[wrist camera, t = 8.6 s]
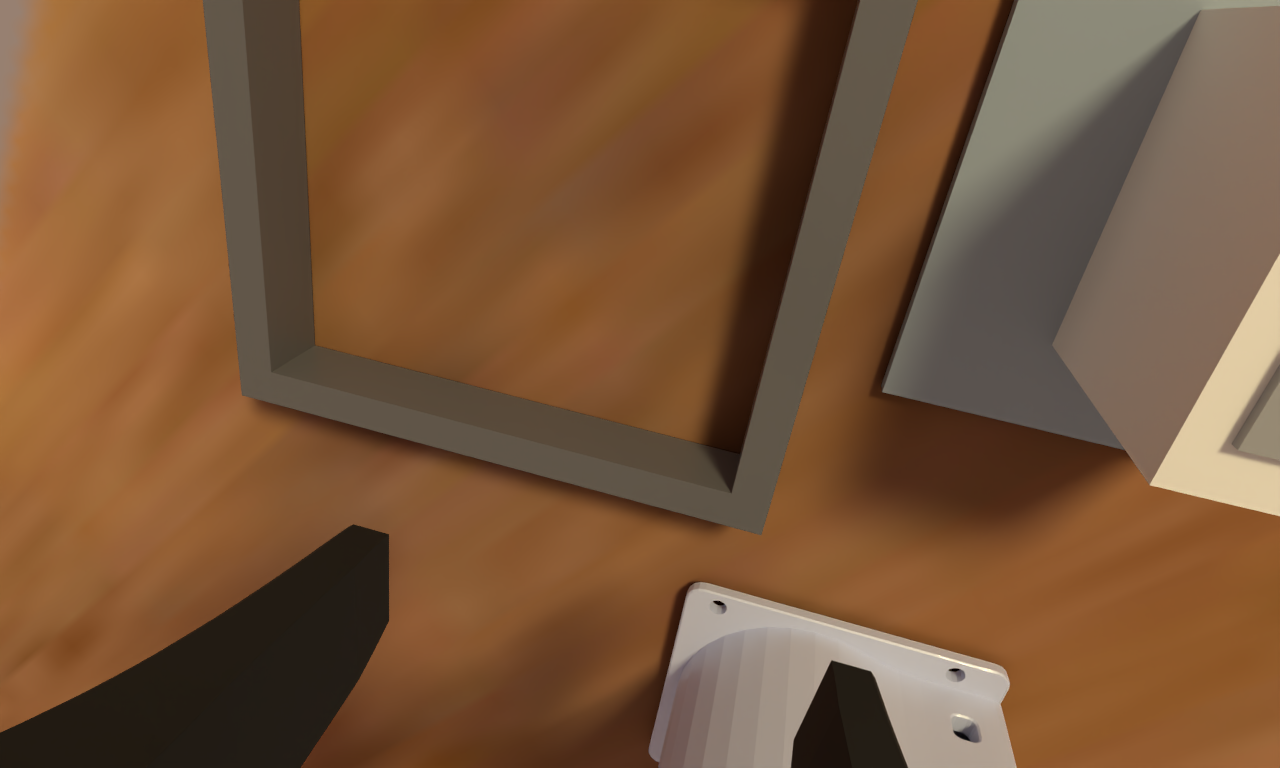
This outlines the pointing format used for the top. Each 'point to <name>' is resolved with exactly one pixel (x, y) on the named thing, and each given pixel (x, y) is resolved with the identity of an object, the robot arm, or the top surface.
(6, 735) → the robot arm
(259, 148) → the frame
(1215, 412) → the block
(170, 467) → the top surface
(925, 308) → the slate mat
